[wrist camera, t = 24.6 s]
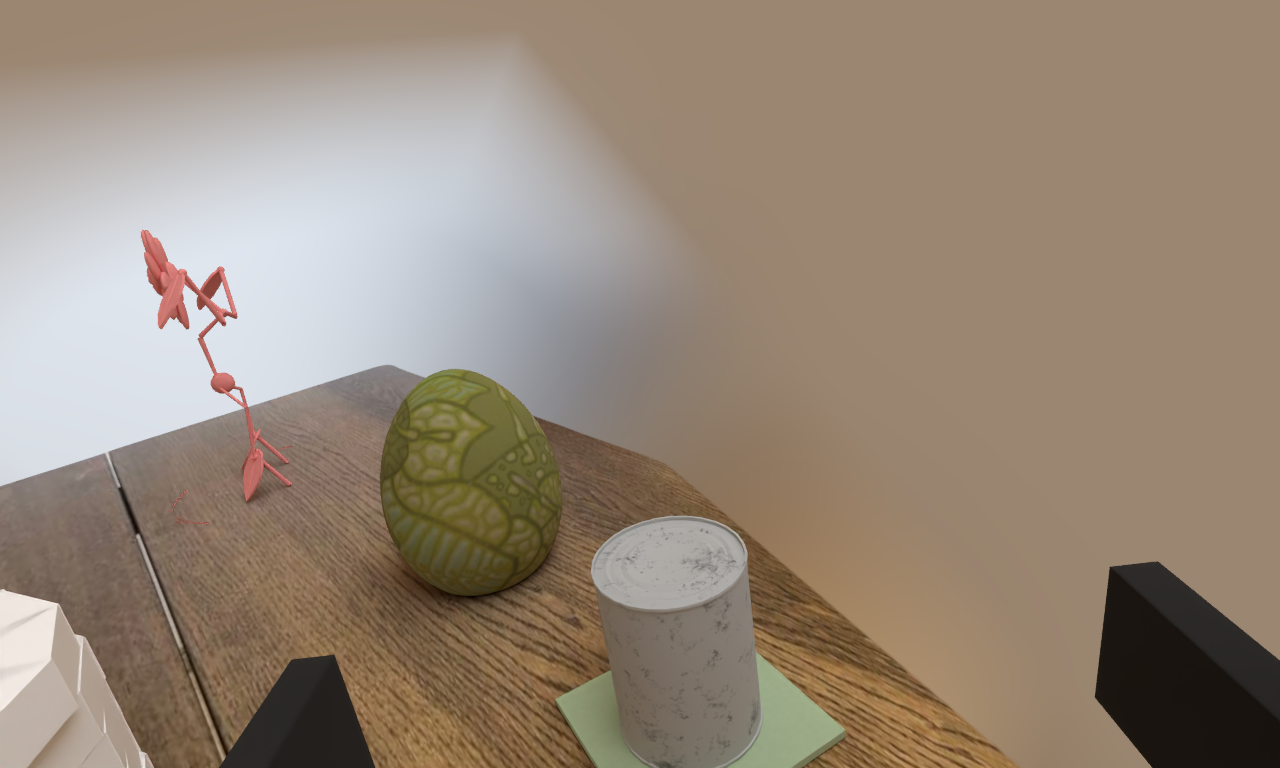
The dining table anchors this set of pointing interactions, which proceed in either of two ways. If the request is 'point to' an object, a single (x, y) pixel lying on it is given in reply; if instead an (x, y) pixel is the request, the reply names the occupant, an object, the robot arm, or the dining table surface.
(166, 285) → the figurine
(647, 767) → the mat
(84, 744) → the container
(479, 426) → the decorative sculpture
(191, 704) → the dining table surface
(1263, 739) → the robot arm
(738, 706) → the grey speckled cylinder
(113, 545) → the dining table surface
